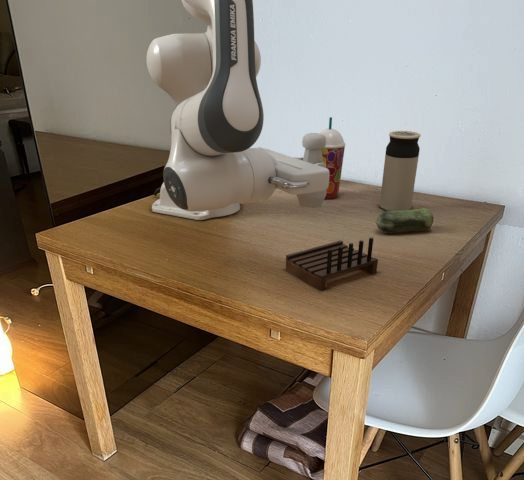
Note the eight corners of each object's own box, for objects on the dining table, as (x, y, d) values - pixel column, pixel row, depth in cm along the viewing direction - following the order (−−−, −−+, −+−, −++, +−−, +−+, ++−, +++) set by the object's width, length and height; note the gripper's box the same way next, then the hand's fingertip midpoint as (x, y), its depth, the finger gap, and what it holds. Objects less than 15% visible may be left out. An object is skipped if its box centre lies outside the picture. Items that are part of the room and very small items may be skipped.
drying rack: (285, 270, 107) (286, 234, 103) (339, 254, 114) (342, 220, 110) (320, 290, 100) (323, 253, 96) (376, 273, 106) (381, 236, 102)
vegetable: (425, 225, 129) (428, 204, 126) (435, 232, 125) (439, 211, 122) (369, 229, 127) (372, 208, 124) (378, 237, 122) (380, 215, 120)
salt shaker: (323, 210, 102) (328, 137, 96) (293, 208, 103) (296, 136, 97) (327, 201, 107) (331, 131, 100) (298, 199, 108) (301, 130, 101)
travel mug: (405, 214, 136) (416, 138, 126) (375, 209, 139) (383, 134, 129) (414, 205, 141) (425, 132, 132) (385, 200, 145) (394, 129, 135)
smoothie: (320, 189, 154) (324, 113, 143) (346, 194, 150) (353, 116, 139) (304, 196, 148) (308, 118, 137) (331, 202, 144) (337, 121, 133)
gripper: (290, 169, 86) (355, 157, 93) (224, 145, 101) (285, 137, 107) (289, 208, 90) (352, 194, 96) (225, 180, 104) (284, 170, 111)
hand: (316, 164), depth 102 cm, fingers closed on salt shaker, 3 cm apart
